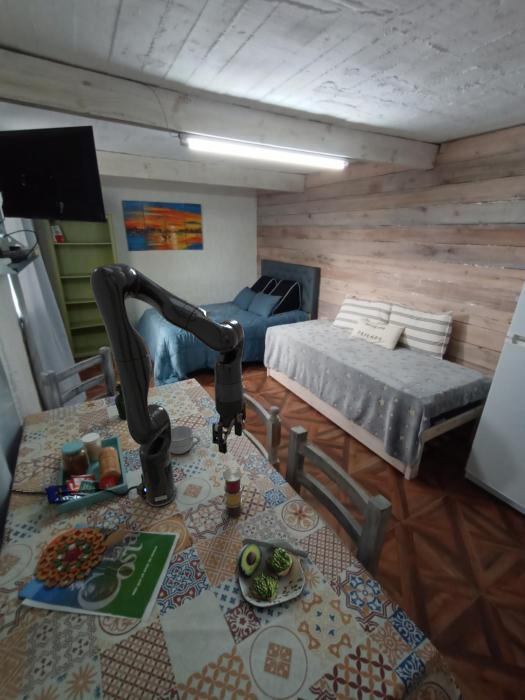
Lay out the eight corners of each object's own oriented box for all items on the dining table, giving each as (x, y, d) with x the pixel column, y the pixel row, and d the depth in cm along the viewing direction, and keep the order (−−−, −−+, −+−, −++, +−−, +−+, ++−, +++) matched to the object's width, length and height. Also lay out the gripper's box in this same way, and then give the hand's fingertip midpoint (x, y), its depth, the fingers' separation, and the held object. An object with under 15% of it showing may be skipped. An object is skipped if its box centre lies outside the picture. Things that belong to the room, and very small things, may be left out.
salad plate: (298, 532, 93) (298, 520, 91) (322, 596, 77) (323, 584, 75) (232, 545, 89) (232, 534, 87) (243, 617, 73) (243, 604, 71)
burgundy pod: (220, 490, 95) (219, 477, 93) (229, 477, 100) (229, 465, 98) (236, 496, 93) (236, 483, 91) (245, 483, 97) (245, 470, 96)
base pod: (221, 514, 99) (220, 502, 97) (230, 501, 103) (230, 490, 101) (237, 521, 96) (236, 509, 95) (245, 507, 101) (245, 495, 99)
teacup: (161, 453, 125) (158, 436, 122) (177, 437, 134) (176, 421, 131) (191, 462, 120) (189, 445, 117) (206, 445, 130) (204, 429, 127)
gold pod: (221, 502, 97) (220, 490, 95) (230, 490, 101) (230, 477, 100) (237, 509, 95) (236, 496, 93) (245, 496, 99) (245, 483, 97)
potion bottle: (139, 412, 153) (134, 378, 146) (129, 421, 145) (123, 387, 139) (124, 410, 154) (118, 377, 148) (114, 419, 147) (107, 385, 140)
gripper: (230, 380, 92) (232, 427, 98) (201, 403, 80) (205, 454, 86) (253, 385, 89) (253, 433, 95) (227, 410, 77) (229, 463, 83)
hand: (230, 443), depth 90 cm, fingers open, 8 cm apart
